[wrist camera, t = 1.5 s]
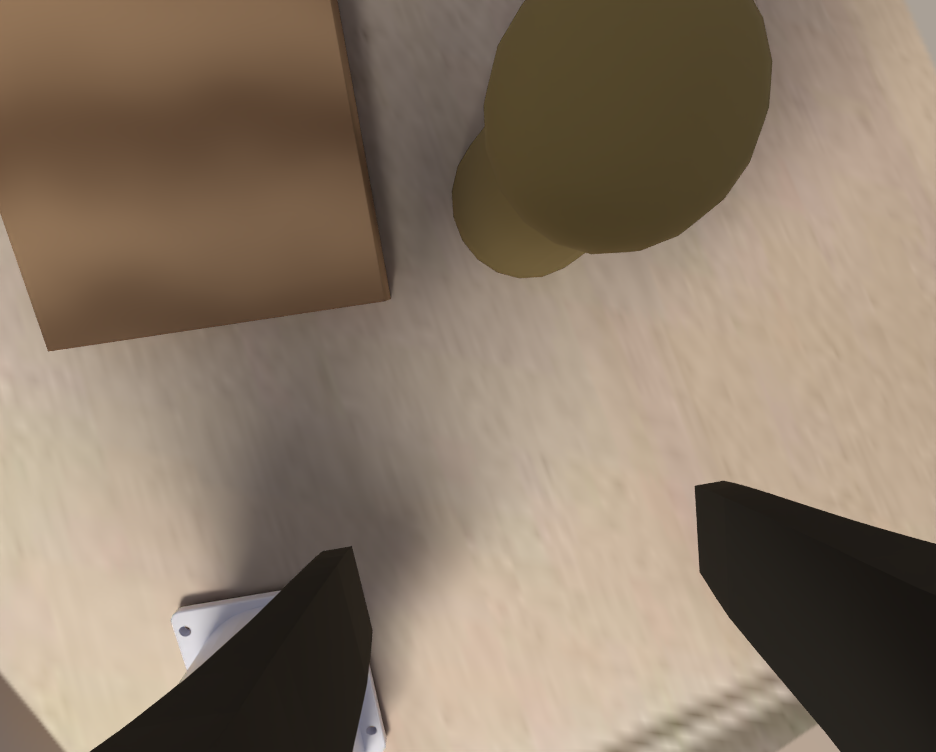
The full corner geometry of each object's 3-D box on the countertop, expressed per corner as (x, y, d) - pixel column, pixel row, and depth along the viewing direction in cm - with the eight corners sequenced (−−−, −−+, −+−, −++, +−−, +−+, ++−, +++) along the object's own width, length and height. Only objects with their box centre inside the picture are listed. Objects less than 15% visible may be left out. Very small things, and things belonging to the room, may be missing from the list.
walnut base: (390, 299, 18) (384, 300, 16) (90, 343, 18) (48, 351, 16) (328, -47, 16) (313, -93, 14) (-22, -2, 16) (-88, -42, 14)
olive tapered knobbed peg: (489, 87, 17) (573, -248, 6) (629, 158, 18) (916, -28, 7) (427, 240, 18) (407, 179, 7) (562, 302, 19) (725, 329, 8)
